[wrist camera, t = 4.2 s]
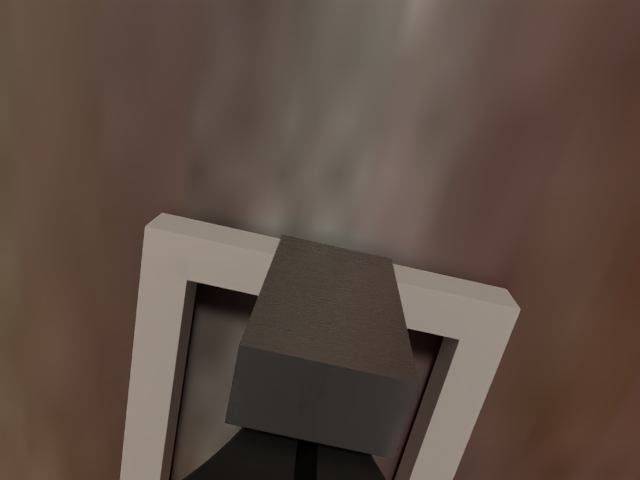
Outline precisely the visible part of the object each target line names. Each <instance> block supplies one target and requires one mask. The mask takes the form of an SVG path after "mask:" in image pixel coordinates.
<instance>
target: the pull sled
mask: <svg viewBox="0 0 640 480" xmlns="http://www.w3.org/2000/svg"><path fill="white" fill-rule="evenodd" d="M197 282H198V283H203V284H208V285H212V286H217V287H221V288H226V289H230V290H235V291H240V292H244V293H249V294H253V295H258V298H257V301H256V303H255V306H254V308H253V311H252V313H251V316H250V319H249V321H248V324H247V326H246V329H245V331H244V334H243V337H242V339H241V342H240V344H239V349H238V355H237V360H236V366H235V371H234V376H233V382H232V387H231V393H230V398H229V404H228V409H227V414H226V420H225V423H227V424H232V425H237V426H241V427H246V428H251V429H255V430H260V431H265V432H269V433H274V434H279V435H284V436H288V437H293V438H298V439H302V440H307V441H312V442H316V443H321V444H326V445H330V446H335V447H340V448H344V449H349V450H354V451H358V452H363V453H368V454H373V455H377V456H382V457H387V458H391V459H394V457H395V454H396V451H397V448H398V445H399V442H400V439H401V436H402V433H403V430H404V427H405V424H406V421H407V418H408V415H409V413H410V410H411V407H412V404H413V401H414V398H415V395H416V392H417V389H418V386H419V380H418V376H417V371H416V367H415V362H414V358H413V353H412V348H411V344H410V339H409V335H408V330H407V328H408V329H413V330H417V331H422V332H427V333H431V334H436V335H440V336H444V338H443V341H442V344H441V347H440V350H439V353H438V356H437V359H436V362H435V364H434V367H433V370H432V373H431V376H430V379H429V382H428V385H427V388H426V390H425V393H424V396H423V399H422V402H421V405H420V408H419V411H418V413H417V416H416V419H415V422H414V425H413V428H412V431H411V434H410V437H409V439H408V442H407V445H406V448H405V451H404V454H403V457H402V460H401V462H400V465H399V468H398V471H397V474H396V477H395V480H453V478H454V475H455V473H456V470H457V468H458V465H459V463H460V460H461V458H462V455H463V453H464V450H465V448H466V445H467V443H468V440H469V438H470V435H471V433H472V430H473V428H474V425H475V423H476V420H477V418H478V415H479V413H480V410H481V408H482V405H483V402H484V400H485V397H486V395H487V392H488V390H489V387H490V385H491V382H492V380H493V377H494V375H495V372H496V370H497V367H498V365H499V362H500V360H501V357H502V355H503V352H504V350H505V347H506V345H507V342H508V340H509V337H510V335H511V332H512V330H513V327H514V325H515V322H516V320H517V317H518V315H519V312H520V310H521V309H520V308H519V306H518V305H517V303H516V302H515V301H514V299H513V298H512V296H511V295H510V293H509V292H508V291H507V289H504V288H500V287H495V286H491V285H486V284H482V283H477V282H473V281H468V280H464V279H459V278H455V277H450V276H446V275H441V274H436V273H432V272H427V271H423V270H418V269H414V268H409V267H405V266H400V265H396V264H393V263H392V259H389V258H385V257H380V256H376V255H371V254H367V253H362V252H358V251H353V250H349V249H344V248H340V247H335V246H330V245H326V244H321V243H317V242H312V241H308V240H303V239H299V238H294V237H290V236H285V235H282V236H281V239H279V238H274V237H270V236H265V235H261V234H256V233H252V232H247V231H243V230H238V229H234V228H229V227H225V226H220V225H216V224H211V223H207V222H202V221H198V220H193V219H189V218H184V217H180V216H175V215H171V214H166V213H161V214H160V215H159V216H157V217H156V218H155V219H154V220H152V221H151V222H150V223H149V224H147V225H146V226H145V233H144V243H143V253H142V263H141V273H140V283H139V293H138V303H137V313H136V323H135V334H134V344H133V354H132V364H131V374H130V384H129V394H128V404H127V414H126V424H125V434H124V444H123V454H122V464H121V475H120V480H169V476H170V469H171V462H172V455H173V448H174V441H175V434H176V427H177V420H178V413H179V406H180V399H181V392H182V385H183V378H184V371H185V364H186V357H187V350H188V343H189V336H190V329H191V322H192V315H193V308H194V301H195V294H196V288H197Z"/></svg>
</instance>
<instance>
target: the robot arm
mask: <svg viewBox="0 0 640 480" xmlns="http://www.w3.org/2000/svg"><path fill="white" fill-rule="evenodd" d="M183 480H386V479H385V477H384V476H383V474H382V472H381V471H380V469H379V467H378V466H377V464H376V462H375V461H374V459H373V457H372V455H371V454H368V453H363V452H358V451H354V450H349V449H344V448H340V447H335V446H330V445H326V444H321V443H316V442H312V441H307V440H302V439H298V438H293V437H288V436H284V435H279V434H274V433H269V432H265V431H260V430H255V429H251V428H246V427H243V428H242V429H241V430H240V431H239V432H238V433H237V434H236V435H235V436H234V437H233V438H232V439H231V440H230V441H229V442H228V443H227V444H226V445H225V446H223V447H222V448H221V449H220V450H219V451H218V452H217V453H216V454H215V455H213V456H212V457H211V458H210V459H209V460H207V461H206V462H205V463H204V464H202V465H201V466H200V467H199V468H198V469H196V470H195V471H194V472H192V473H191V474H190V475H188V476H187V477H186V478H184V479H183Z"/></svg>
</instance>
